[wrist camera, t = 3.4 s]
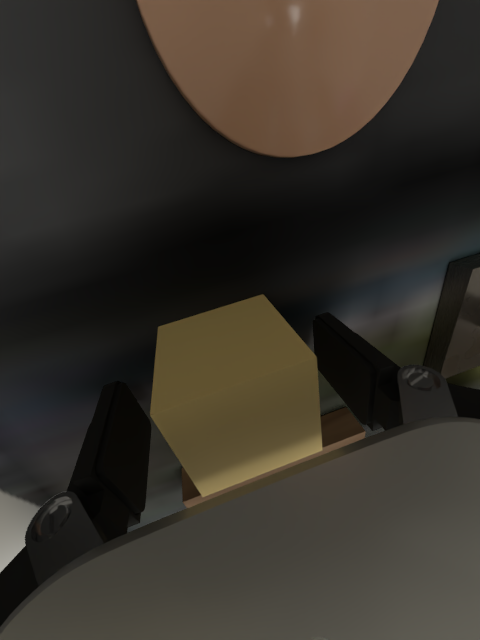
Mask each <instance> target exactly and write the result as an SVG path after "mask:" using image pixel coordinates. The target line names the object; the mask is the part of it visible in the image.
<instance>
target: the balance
mask: <svg viewBox="0 0 480 640" xmlns="http://www.w3.org/2000/svg"><path fill="white" fill-rule="evenodd" d="M424 366H426V367H428V368H431V369H433V370H435V371H437V372H439V373H440V374H441V375H442V376H443V377H444V378H448V377H450V376H453V375H456V374H458V373H461V372H464V371H466V370H469V369H472V368H474V367H477V366H480V253H479V254H476V255H473V256H470V257H466V258H463V259H460V260H457V261H454V262H451V263H449V267H448V271H447V275H446V279H445V283H444V287H443V291H442V295H441V299H440V303H439V307H438V311H437V314H436V318H435V322H434V326H433V330H432V334H431V338H430V342H429V346H428V350H427V354H426V358H425V362H424Z"/></svg>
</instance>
